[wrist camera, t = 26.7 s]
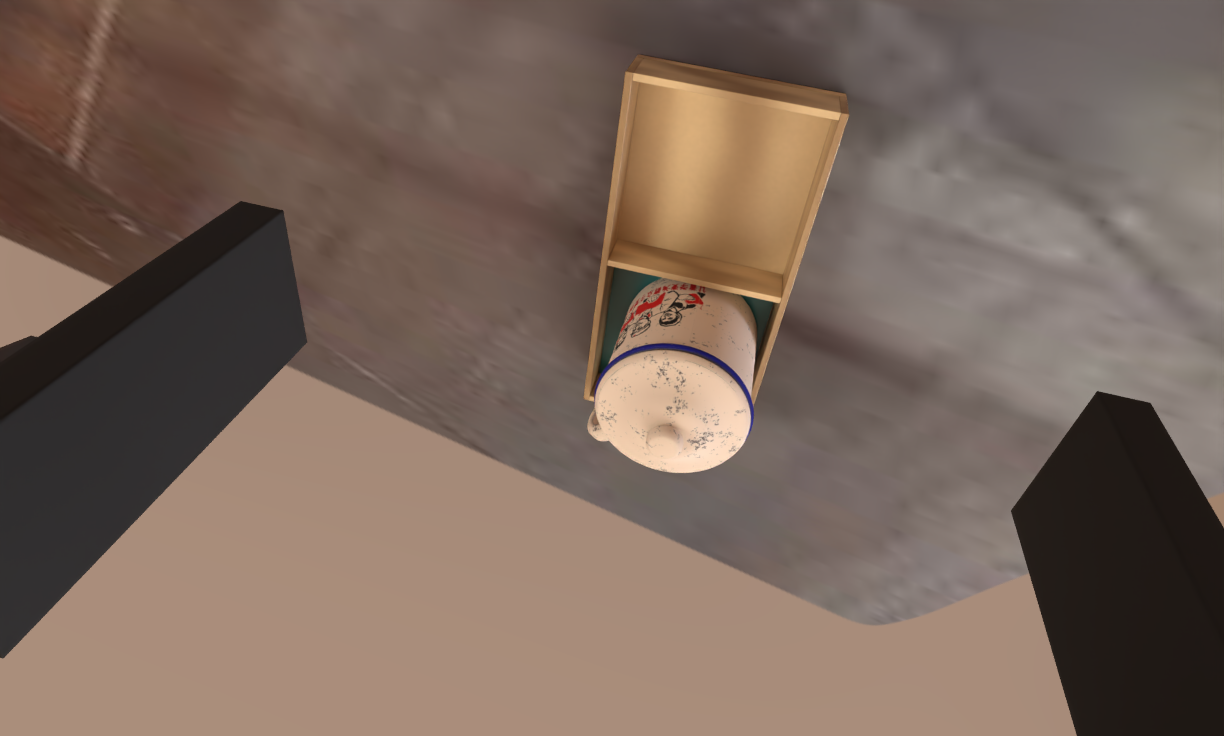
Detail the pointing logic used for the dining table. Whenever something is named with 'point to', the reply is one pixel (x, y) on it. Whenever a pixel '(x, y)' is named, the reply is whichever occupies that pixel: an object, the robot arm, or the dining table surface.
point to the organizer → (712, 192)
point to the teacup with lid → (679, 378)
